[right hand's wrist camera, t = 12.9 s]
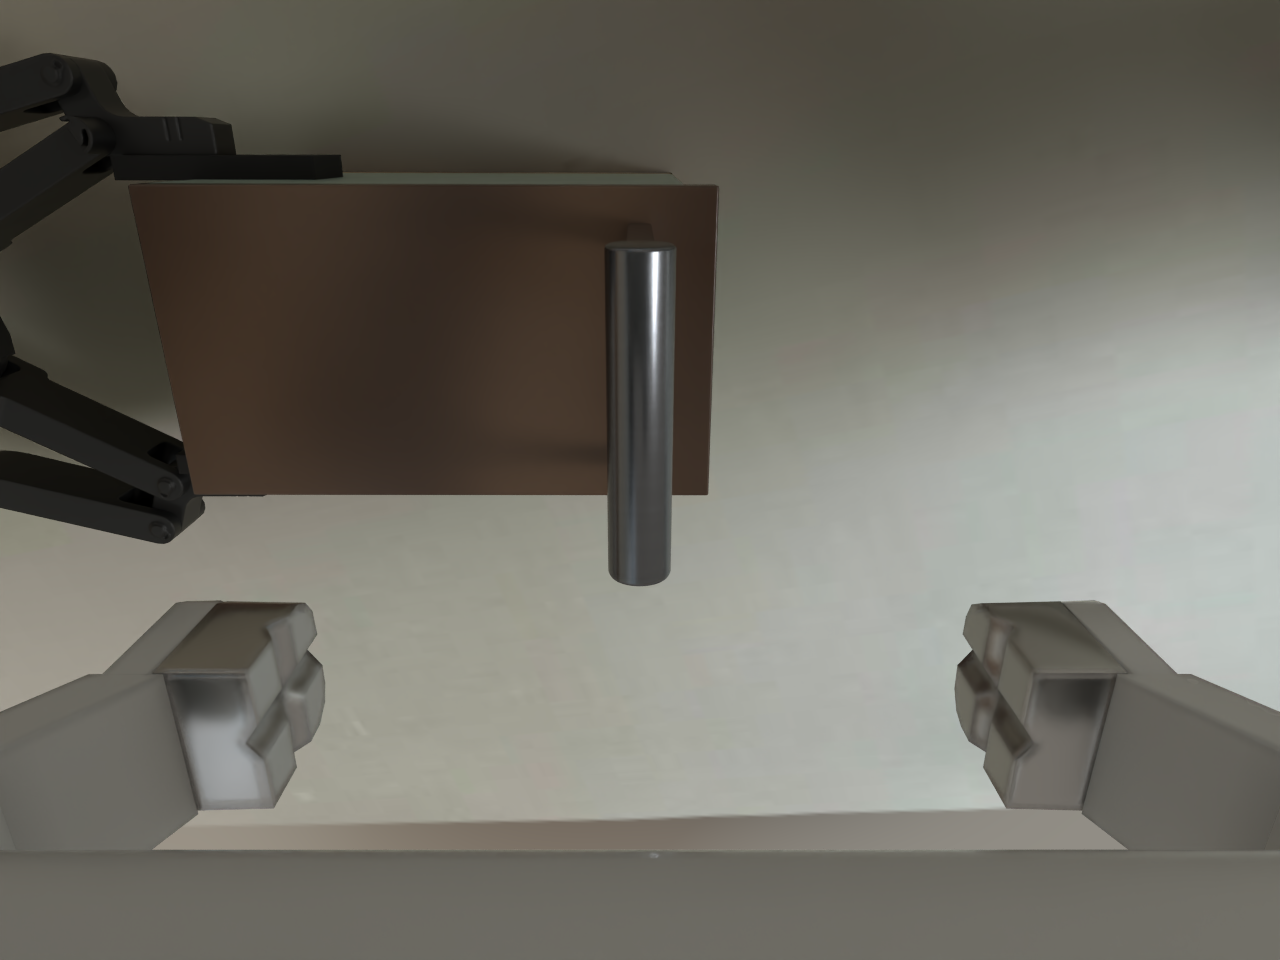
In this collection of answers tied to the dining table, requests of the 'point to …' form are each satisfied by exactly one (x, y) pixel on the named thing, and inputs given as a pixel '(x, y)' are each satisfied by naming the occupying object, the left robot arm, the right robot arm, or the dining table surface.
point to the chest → (474, 178)
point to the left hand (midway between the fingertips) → (347, 318)
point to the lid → (443, 342)
